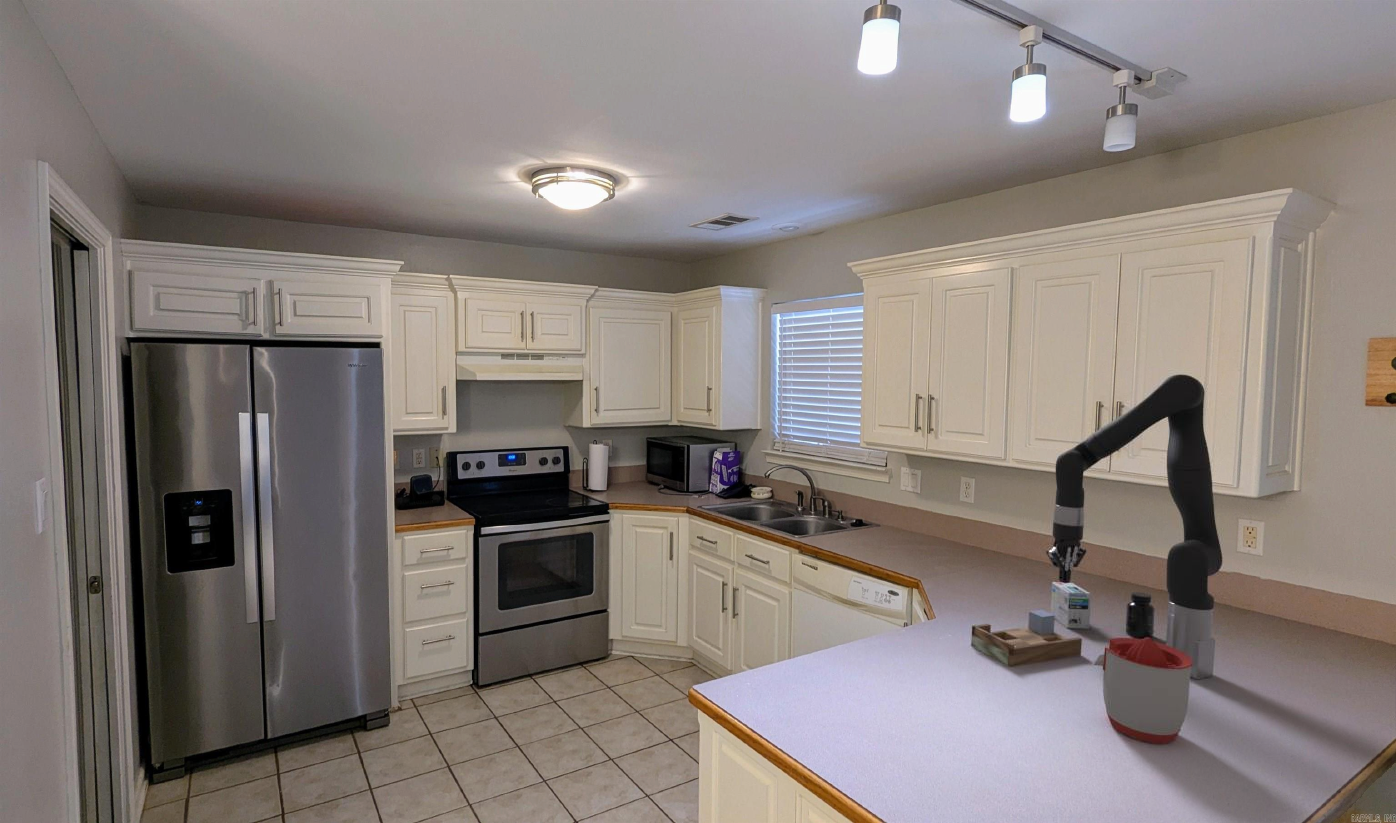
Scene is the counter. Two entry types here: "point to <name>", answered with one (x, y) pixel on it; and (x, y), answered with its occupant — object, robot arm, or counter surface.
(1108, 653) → the citrus juicer
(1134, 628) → the supplement bottle
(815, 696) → the counter surface
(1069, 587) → the light bulb box
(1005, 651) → the board
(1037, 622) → the block
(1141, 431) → the robot arm
